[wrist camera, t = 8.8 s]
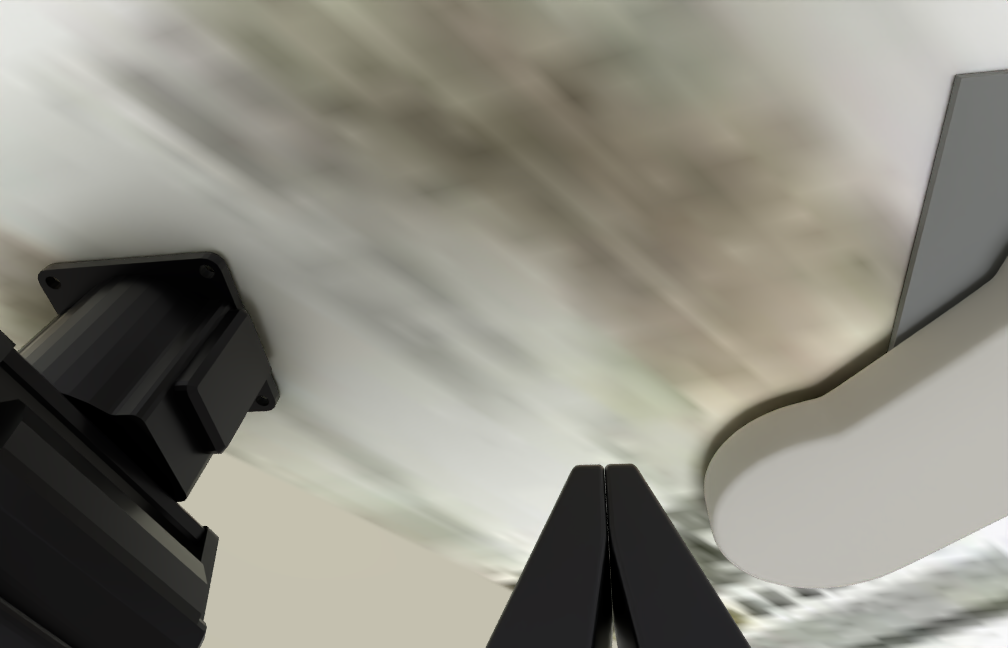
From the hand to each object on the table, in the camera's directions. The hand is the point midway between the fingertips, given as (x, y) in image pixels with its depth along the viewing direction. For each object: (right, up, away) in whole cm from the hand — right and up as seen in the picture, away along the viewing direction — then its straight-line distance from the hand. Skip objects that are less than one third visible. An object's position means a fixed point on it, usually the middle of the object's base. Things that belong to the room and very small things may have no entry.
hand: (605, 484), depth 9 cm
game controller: (+10, +2, +11) cm, 15 cm away
